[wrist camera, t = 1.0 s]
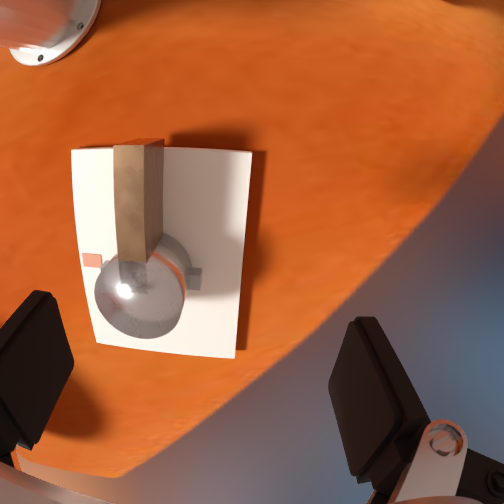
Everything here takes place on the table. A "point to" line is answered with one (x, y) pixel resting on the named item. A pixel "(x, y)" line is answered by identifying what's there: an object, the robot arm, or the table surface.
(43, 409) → the robot arm
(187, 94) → the table surface
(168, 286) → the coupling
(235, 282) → the base
